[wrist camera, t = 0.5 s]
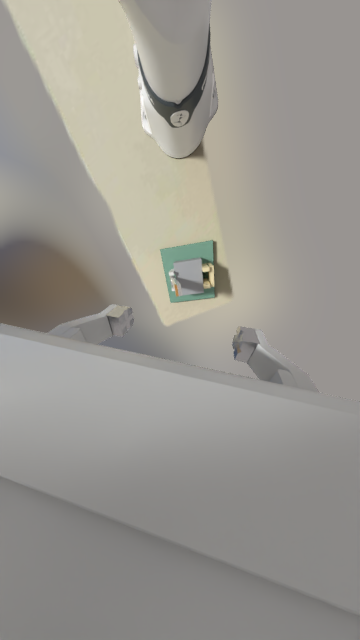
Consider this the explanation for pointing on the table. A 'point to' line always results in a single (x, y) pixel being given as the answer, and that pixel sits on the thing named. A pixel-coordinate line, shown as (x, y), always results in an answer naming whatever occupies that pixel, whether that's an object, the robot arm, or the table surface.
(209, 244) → the base
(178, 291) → the retention strap
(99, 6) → the table surface
